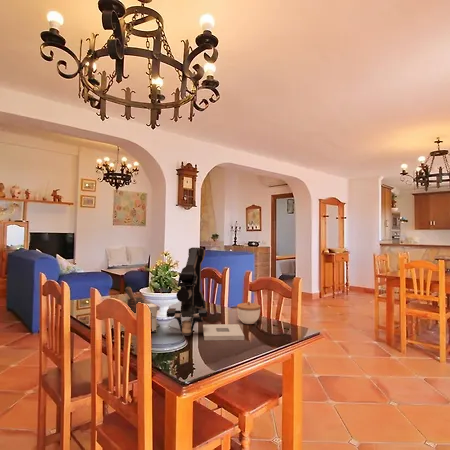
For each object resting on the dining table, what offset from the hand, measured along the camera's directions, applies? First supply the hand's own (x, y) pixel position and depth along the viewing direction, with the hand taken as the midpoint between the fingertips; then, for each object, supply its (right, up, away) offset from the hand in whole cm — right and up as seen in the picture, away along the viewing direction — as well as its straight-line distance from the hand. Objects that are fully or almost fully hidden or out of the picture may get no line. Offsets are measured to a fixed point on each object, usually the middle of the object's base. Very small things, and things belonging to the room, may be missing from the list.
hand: (186, 331), depth 152 cm
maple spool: (0, -2, 0) cm, 2 cm away
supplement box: (-19, -1, +3) cm, 20 cm away
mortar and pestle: (-29, -2, +14) cm, 32 cm away
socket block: (+17, -2, +2) cm, 17 cm away
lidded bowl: (+31, -3, +23) cm, 39 cm away
